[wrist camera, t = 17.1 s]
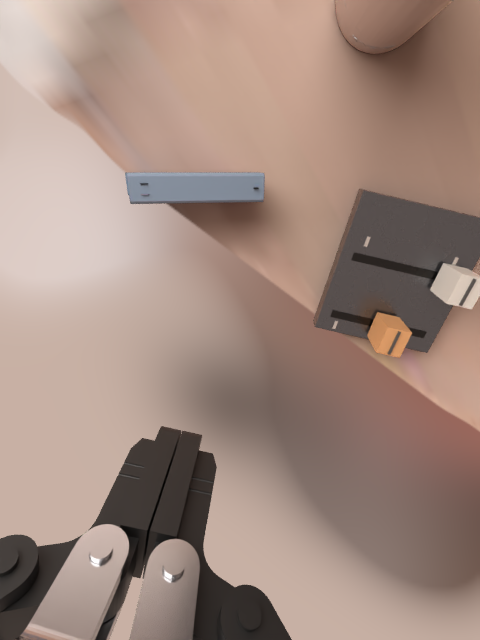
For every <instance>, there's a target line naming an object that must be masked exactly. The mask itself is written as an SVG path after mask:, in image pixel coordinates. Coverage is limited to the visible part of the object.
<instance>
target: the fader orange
mask: <svg viewBox="0 0 480 640" xmlns="http://www.w3.org/2000/svg"><path fill="white" fill-rule="evenodd" d="M411 334H412V332H411V331H410V330H409V328H408V327H407V326H406V325H405V323H404V322H403V321H402V320H401V319H400V317H396V316H392V315H387V314H383V313H379V312H377V314H376V316H375V318H374V321H373V323H372V325H371V328H370V330H369V332H368V334H367V337H368V338H369V340H370V342H371V344H372V346H373V348H374V349H375V351H376V352H377V353H381V354H385V355H390V356H394V357H398V358H400V356H401V354H402V352H403V350H404V348H405V346H406V344H407V342H408V340H409V338H410V336H411Z"/></svg>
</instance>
